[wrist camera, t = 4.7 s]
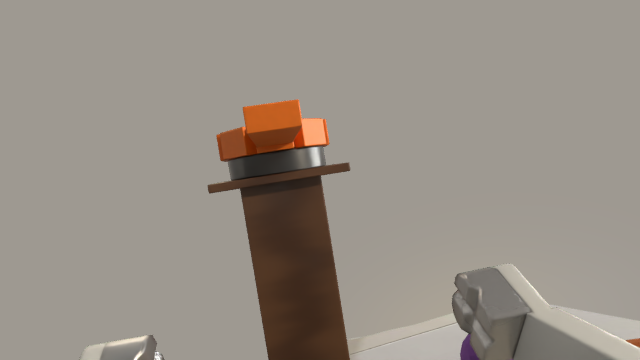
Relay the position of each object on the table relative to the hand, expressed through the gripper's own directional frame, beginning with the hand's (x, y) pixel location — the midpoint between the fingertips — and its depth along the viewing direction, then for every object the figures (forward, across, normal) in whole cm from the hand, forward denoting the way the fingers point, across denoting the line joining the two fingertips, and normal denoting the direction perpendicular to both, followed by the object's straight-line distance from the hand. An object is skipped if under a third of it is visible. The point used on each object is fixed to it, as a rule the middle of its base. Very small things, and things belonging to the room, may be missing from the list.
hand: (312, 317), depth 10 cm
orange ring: (+17, 0, +3) cm, 17 cm away
